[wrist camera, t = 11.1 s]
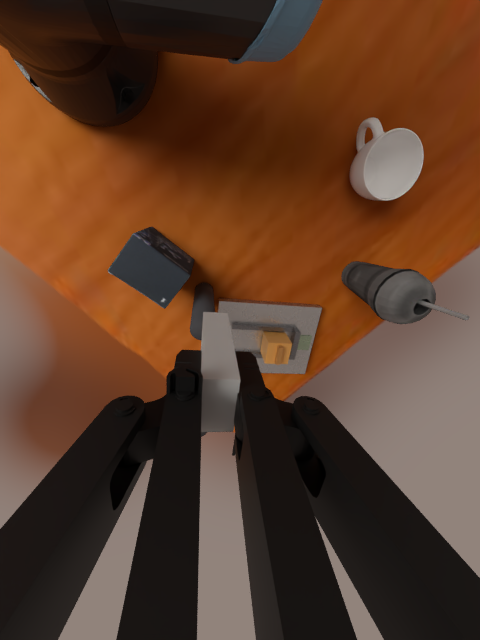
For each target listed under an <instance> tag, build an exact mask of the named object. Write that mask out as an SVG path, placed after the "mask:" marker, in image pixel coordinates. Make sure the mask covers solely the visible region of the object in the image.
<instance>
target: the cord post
mask: <svg viewBox="0 0 480 640" xmlns="http://www.w3.org/2000/svg"><path fill="white" fill-rule="evenodd" d="M203 312H215V307H214V293H213V288H212V286H211V285H210V284H208V283H204V282H203V283H200V284H198V285H197V286H196V288H195V295H194V302H193V310H192V317H191V325H190V332H191V334H192V336H193V337H195V338H196V339H198V340H202V326H203Z"/></svg>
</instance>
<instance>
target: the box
mask: <svg viewBox="0 0 480 640" xmlns="http://www.w3.org/2000/svg"><path fill="white" fill-rule="evenodd" d="M193 264H194V259H193V258H192V257H190V256H189V255H188V254H186V253H185V252H184V251H183V250H181V249H180V248H179V247H177V246H176V245H175V244H174V243H172V242H171V241H170V240H168V239H167V238H166V237H165V236H163V235H162V234H161V233H159V232H158V231H157V230H156V229H155V228H153V227H149V228H146V229H144V230H141V231H138V232H136V233H133V234H132V236H131V238H130V239H129V240H128V242H127V243H126V245H125V246H124V248H123V249H122V250H121V252H120V253H119V255H118V256H117V258H116V259H115V261H114V262H113V263H112V265H111V266H110V268H109V269H108V272H109V273H110V274H112V275H114V276H116V277H117V278H119V279H120V280H122V281H124V282H125V283H127V284H128V285H130V286H131V287H133V288H134V289H136V290H137V291H139V292H140V293H142V294H143V295H145V296H147V297H148V298H149V299H151V300H152V301H154V302H155V303H157V304H158V305H160V306H161V307H163V308H164V309H165V308H166V307H167V306H168V304H169V303H170V302H171V300H172V299H173V298H174V296H175V295H176V294H177V293H178V291H179V290H180V289H181V288H182V286H183V285H184V284H185V282H186V281H187V280H188V279H189V277H190V275H191V272H192V267H193Z"/></svg>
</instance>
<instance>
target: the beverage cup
mask: <svg viewBox="0 0 480 640" xmlns="http://www.w3.org/2000/svg"><path fill="white" fill-rule="evenodd" d="M342 281H343V283H344V284H345V285H346V286H347V287H348V288H349V289H350V290H351V291H353V292H354V293H355V294H356V295H357V296H359V297H360V298H361V299H362V300H363V301H365V302H366V303H367V304H368V305H370V307H371V308H372V310H373V311H374V312H375V313H376V314H377V316H379V317H380V318H381V319H383V320H387V321H389V322H393V323H397V324H407V323H413V322H416V321H419V320H421V319H422V318H424V317H425V316H427V315H428V314H429V313H430V312H431V310H432V309H435V310H437V311H440V312H443V313H446V314H449V315H452V316H455V317H458V318H460V319H463V320H468V319H469V316H467V315H464V314H462V313H459V312H455V311H452V310H449V309H446V308H443V307H440V306H437V305H434V303H435V300H436V294H435V290H434V288H433V285H432V283H431V282H430V281H429V280H428V279H427V278H426V277H424V276H423V275H421V274H420V273H419V272H417V271H414V270H411V269H393V268H388V267H384V266H379V265H374V264H370V263H365V262H358V261H357V262H352V263H350V264H348V265H347V266H346V267H345V268H344V270H343V272H342Z"/></svg>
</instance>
